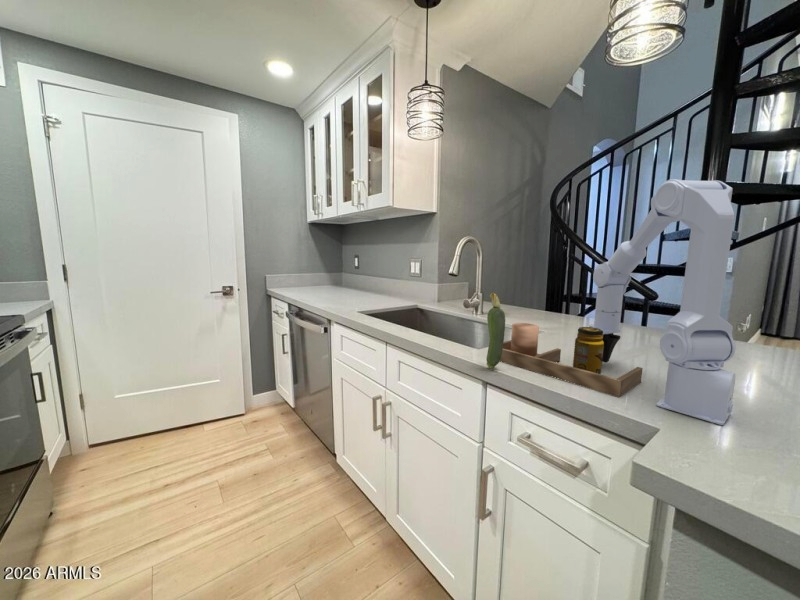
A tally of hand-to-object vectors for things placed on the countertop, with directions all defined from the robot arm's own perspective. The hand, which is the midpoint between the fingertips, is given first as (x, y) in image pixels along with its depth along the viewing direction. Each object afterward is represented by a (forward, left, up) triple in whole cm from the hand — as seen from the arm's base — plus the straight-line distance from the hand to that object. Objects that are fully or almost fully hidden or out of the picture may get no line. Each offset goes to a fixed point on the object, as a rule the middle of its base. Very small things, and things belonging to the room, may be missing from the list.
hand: (603, 361), depth 87 cm
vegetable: (+16, +26, -2) cm, 30 cm away
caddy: (+6, +12, -1) cm, 14 cm away
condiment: (0, +12, -2) cm, 12 cm away
